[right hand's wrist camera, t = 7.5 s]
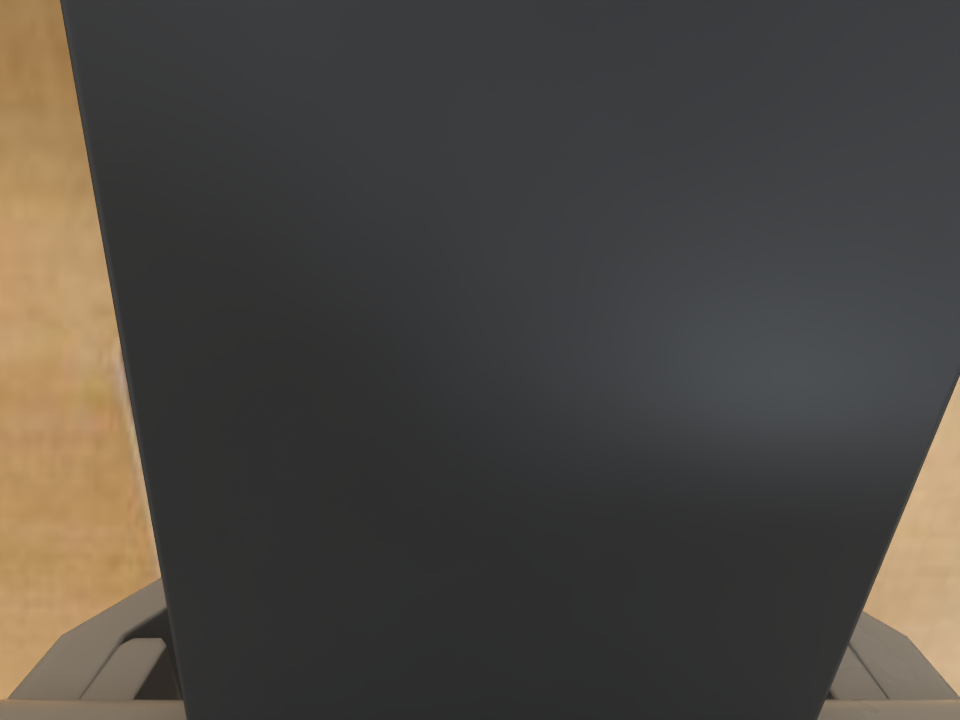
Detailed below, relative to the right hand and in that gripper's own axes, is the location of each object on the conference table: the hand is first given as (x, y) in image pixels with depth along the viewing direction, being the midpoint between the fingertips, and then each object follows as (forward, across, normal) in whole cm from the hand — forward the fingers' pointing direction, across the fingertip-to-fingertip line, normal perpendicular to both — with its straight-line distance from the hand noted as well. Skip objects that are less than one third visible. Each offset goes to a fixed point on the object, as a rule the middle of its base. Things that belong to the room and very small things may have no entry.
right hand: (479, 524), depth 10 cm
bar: (+4, -1, -8) cm, 9 cm away
